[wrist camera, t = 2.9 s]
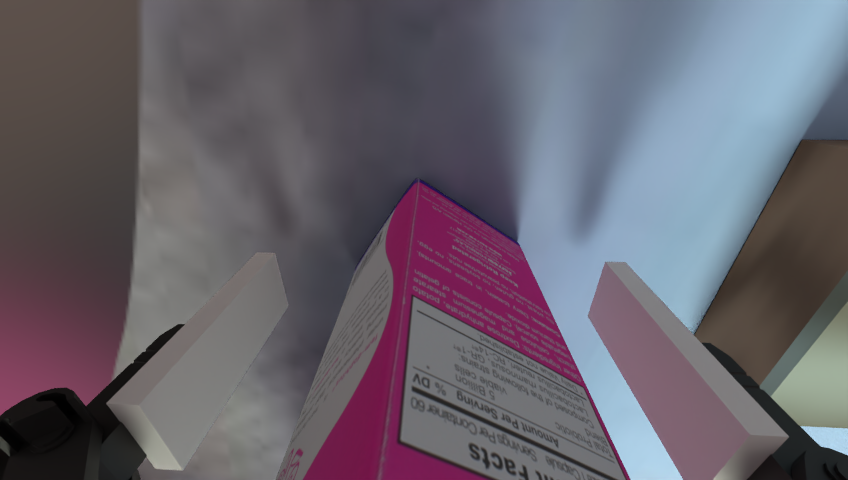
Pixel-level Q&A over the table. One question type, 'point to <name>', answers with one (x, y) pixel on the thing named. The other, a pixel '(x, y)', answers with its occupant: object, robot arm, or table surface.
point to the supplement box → (447, 365)
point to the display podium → (794, 291)
